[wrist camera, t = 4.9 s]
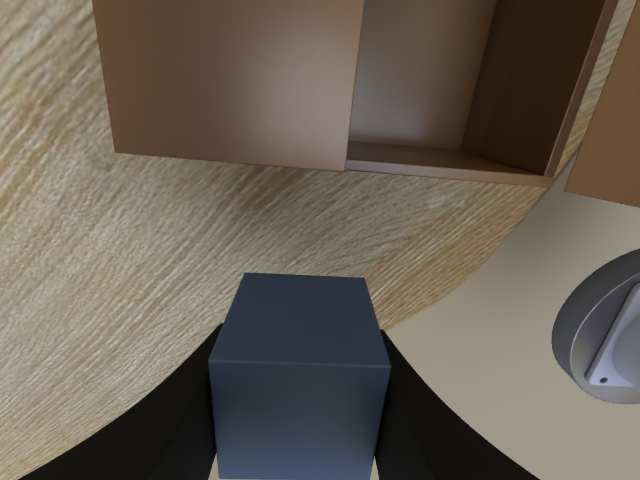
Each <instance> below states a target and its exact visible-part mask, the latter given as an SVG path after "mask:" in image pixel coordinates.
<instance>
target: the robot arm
mask: <svg viewBox="0 0 640 480" xmlns="http://www.w3.org/2000/svg"><path fill="white" fill-rule="evenodd" d="M223 324H224V323H221V324H220V325H218V326H217V328H216V329H215V330H214V331H213V332H212V333H211V334H210V335H209V336H208V337H207V338H206V340H205V341H204V342H203V343H202V344H201V345H200V346H199V347H198V348H197V349H196V350H195V351H194V352H193V353H192V354H191V355H190V356H189V357H188V358H187V359H186V360H185V361H184V362H183V363H182V364H181V365H180V366H179V367H178V368H177V369H176V370H175V371H174V372H173V373H172V374H170V375H169V376H168V377H167V378H166V379H165V380H164V381H163V382H162V383H161V384H159V385H158V386H157V387H156V388H155V389H154V390H152V391H151V392H150V393H149V394H148V395H147V396H145V397H144V398H143V399H142V400H140V401H139V402H138V403H137V404H135V405H134V406H133V407H131V408H130V409H129V410H128V411H126V412H125V413H123V414H122V415H121V416H119V417H118V418H116V419H115V420H114V421H112V422H111V423H109V424H108V425H106V426H105V427H103V428H102V429H101V430H99V431H98V432H96V433H95V434H93V435H92V436H90V437H89V438H87V439H86V440H84V441H83V442H81V443H79V444H78V445H76V446H75V447H73V448H72V449H70V450H68V451H67V452H65V453H63V454H62V455H60V456H58V457H57V458H55V459H53V460H52V461H50V462H48V463H47V464H45V465H43V466H41V467H40V468H38V469H36V470H34V471H33V472H31V473H29V474H27V475H25V476H23V477H22V478H20V479H18V480H208V478H209V475H210V471H211V468H212V464H213V461H214V458H215V455H216V441H215V430H214V419H213V408H212V398H211V387H210V376H209V365H208V360H209V358H210V355H211V353H212V350H213V348H214V345H215V343H216V341H217V338H218V336H219V333H220V331H221V329H222V326H223ZM380 331H381V335H382V338H383V341H384V345H385V348H386V351H387V355H388V358H389V361H390V365H391V371H390V376H389V381H388V386H387V392H386V397H385V402H384V407H383V413H382V418H381V423H380V429H379V434H378V439H377V444H376V450H375V455H374V456H375V460H376V465H377V469H378V475H379V480H540V479H538V478H537V477H535V476H534V475H532V474H531V473H530V472H528V471H526V470H525V469H524V468H523V467H521V466H520V465H518V464H517V463H516V462H514V461H513V460H512V459H510V458H509V457H507V456H506V455H505V454H504V453H502V452H501V451H500V450H498V449H497V448H496V447H494V446H493V445H492V444H491V443H489V442H488V441H487V440H486V439H485V438H483V437H482V436H481V435H480V434H478V433H477V432H476V431H475V430H474V429H472V428H471V427H470V426H469V425H468V424H467V423H465V422H464V421H463V420H462V419H461V418H460V417H459V416H458V415H457V414H456V413H455V412H453V411H452V410H451V409H450V408H449V407H448V406H447V405H446V404H445V403H444V402H443V401H442V400H441V399H440V398H439V397H438V396H437V395H436V394H435V393H434V392H433V391H432V390H431V388H430V387H429V386H428V385H427V384H426V383H425V382H424V381H423V380H422V378H421V377H420V376H419V375H418V374H417V373H416V371H415V370H414V369H413V368H412V367H411V365H410V364H409V363H408V362H407V360H406V359H405V358H404V357H403V356H402V354H401V353H400V352H399V350H398V349H397V348H396V346H395V345H394V344H393V342H392V341H391V340H390V339H389V337H388V336H387V334H386V333H385V332H384V331H383V329H380ZM585 378H586V380H587V381H588V382H589V383H590V384H592V385H606V386H625V387H635V388H636V389H637V390H638V391H639V392H640V283H638V284H636V285H635V286H634V287H633V288H632V290H631V292H630V293H629V295H628V297H627V299H626V301H625V303H624V305H623V307H622V308H621V310H620V312H619V314H618V316H617V318H616V320H615V322H614V324H613V325H612V327H611V329H610V331H609V333H608V335H607V337H606V339H605V340H604V342H603V344H602V346H601V348H600V350H599V352H598V354H597V356H596V357H595V359H594V361H593V363H592V365H591V367H590V369H589V371H588V372H587V374H586V377H585Z"/></svg>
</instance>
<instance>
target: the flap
mask: <svg viewBox="0 0 640 480" xmlns="http://www.w3.org/2000/svg"><path fill="white" fill-rule="evenodd" d="M564 191H565V192H570V193H575V194H579V195H584V196H588V197H593V198H598V199H602V200H607V201H612V202H617V203H621V204H626V205H630V206H635V207H639V208H640V0H637V1H636V4H635V6H634V9H633V12H632V14H631V17H630V19H629V22H628V25H627V27H626V30H625V32H624V35H623V38H622V40H621V43H620V45H619V48H618V51H617V53H616V56H615V58H614V61H613V63H612V66H611V69H610V71H609V74H608V76H607V79H606V82H605V84H604V87H603V89H602V92H601V95H600V97H599V100H598V102H597V105H596V108H595V110H594V113H593V115H592V118H591V121H590V123H589V126H588V128H587V131H586V134H585V136H584V139H583V141H582V144H581V147H580V149H579V152H578V154H577V157H576V160H575V162H574V165H573V167H572V170H571V172H570V175H569V178H568V180H567V183H566V185H565V188H564Z"/></svg>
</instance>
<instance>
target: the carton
mask: <svg viewBox="0 0 640 480" xmlns="http://www.w3.org/2000/svg"><path fill="white" fill-rule="evenodd" d="M618 1H619V0H92V3H93V10H94V17H95V23H96V30H97V36H98V43H99V50H100V56H101V63H102V69H103V76H104V83H105V89H106V96H107V102H108V109H109V116H110V122H111V129H112V135H113V142H114V149H115V152H116V153H125V154H136V155H148V156H160V157H171V158H183V159H195V160H206V161H218V162H230V163H241V164H253V165H265V166H277V167H288V168H300V169H312V170H323V171H335V172H345V170H350V171H361V172H373V173H385V174H396V175H408V176H420V177H431V178H443V179H455V180H466V181H478V182H490V183H501V184H513V185H524V186H536V187H550V186H551V183H552V181H553V177H552V176H554V175H555V172H556V170H557V167H558V164H559V161H560V159H561V156H562V153H563V151H564V148H565V145H566V142H567V140H568V137H569V134H570V132H571V129H572V126H573V123H574V121H575V118H576V115H577V112H578V110H579V107H580V104H581V102H582V99H583V96H584V93H585V91H586V88H587V85H588V83H589V80H590V77H591V74H592V72H593V69H594V66H595V64H596V61H597V58H598V55H599V53H600V50H601V47H602V44H603V42H604V39H605V36H606V34H607V31H608V28H609V25H610V23H611V20H612V17H613V15H614V12H615V9H616V6H617V4H618Z"/></svg>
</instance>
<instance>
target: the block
mask: <svg viewBox="0 0 640 480" xmlns="http://www.w3.org/2000/svg"><path fill="white" fill-rule="evenodd" d="M208 365H209V376H210V387H211V398H212V408H213V419H214V430H215V441H216V452H217V462H218V473H219V478H220V479H259V480H264V479H265V480H370V476H371V471H372V465H373V460H374V455H375V450H376V444H377V439H378V434H379V429H380V423H381V418H382V413H383V407H384V402H385V397H386V392H387V386H388V381H389V376H390V371H391V365H390V361H389V358H388V355H387V351H386V348H385V345H384V341H383V338H382V335H381V331H380V328H379V325H378V321H377V318H376V315H375V311H374V308H373V305H372V301H371V298H370V295H369V291H368V288H367V285H366V281H365V278H356V277H334V276H311V275H289V274H267V273H244V275H243V278H242V280H241V283H240V285H239V287H238V290H237V292H236V295H235V297H234V299H233V302H232V304H231V307H230V309H229V312H228V314H227V316H226V319H225V321H224V324H223V326H222V329H221V331H220V333H219V336H218V338H217V341H216V343H215V345H214V348H213V350H212V353H211V355H210V358H209V360H208Z"/></svg>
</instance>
